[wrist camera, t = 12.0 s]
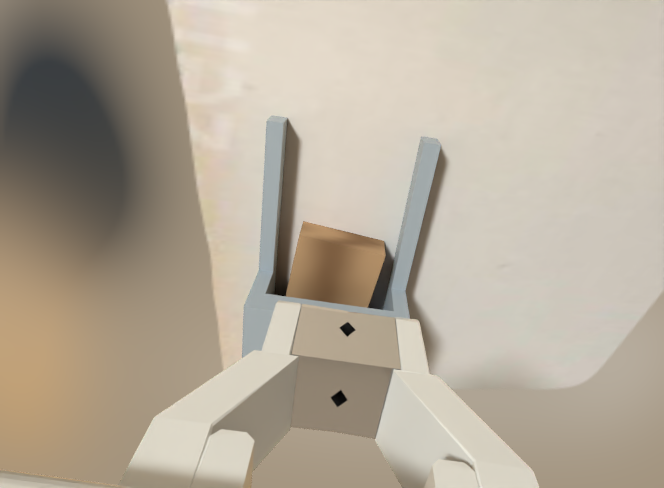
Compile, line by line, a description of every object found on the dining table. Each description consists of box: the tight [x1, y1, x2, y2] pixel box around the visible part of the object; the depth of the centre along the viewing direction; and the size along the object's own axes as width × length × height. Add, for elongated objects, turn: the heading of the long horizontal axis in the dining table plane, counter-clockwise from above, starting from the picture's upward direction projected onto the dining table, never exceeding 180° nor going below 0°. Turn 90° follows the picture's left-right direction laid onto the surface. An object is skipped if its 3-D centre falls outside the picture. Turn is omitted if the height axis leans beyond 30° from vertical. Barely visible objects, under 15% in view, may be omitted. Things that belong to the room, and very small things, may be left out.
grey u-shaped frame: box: [242, 116, 441, 358], centre depth 34 cm, size 12×20×7 cm, turn 173°
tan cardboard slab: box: [286, 221, 386, 308], centre depth 37 cm, size 7×10×3 cm
